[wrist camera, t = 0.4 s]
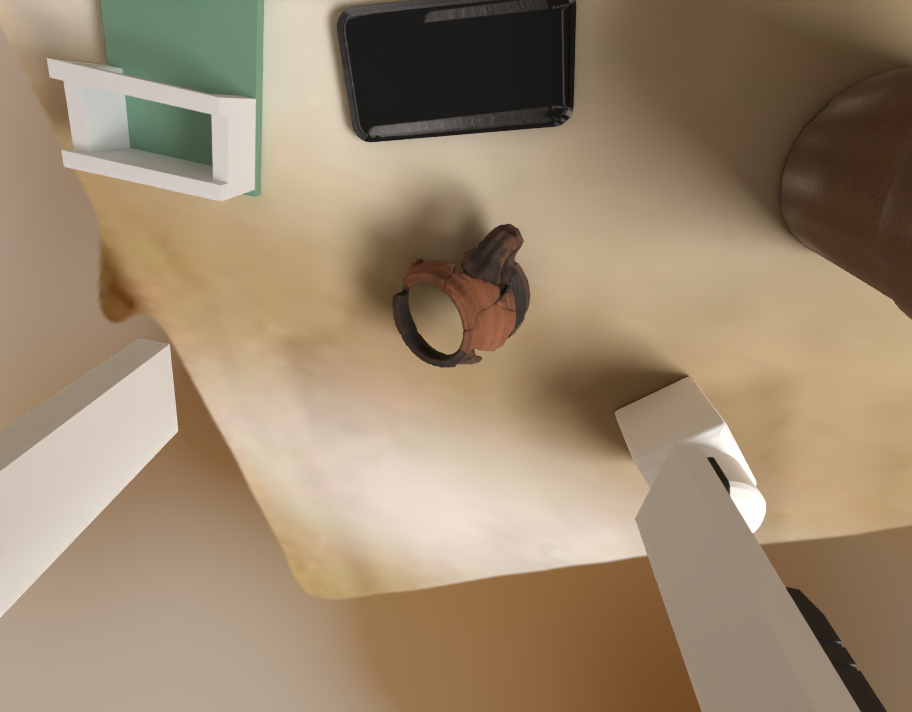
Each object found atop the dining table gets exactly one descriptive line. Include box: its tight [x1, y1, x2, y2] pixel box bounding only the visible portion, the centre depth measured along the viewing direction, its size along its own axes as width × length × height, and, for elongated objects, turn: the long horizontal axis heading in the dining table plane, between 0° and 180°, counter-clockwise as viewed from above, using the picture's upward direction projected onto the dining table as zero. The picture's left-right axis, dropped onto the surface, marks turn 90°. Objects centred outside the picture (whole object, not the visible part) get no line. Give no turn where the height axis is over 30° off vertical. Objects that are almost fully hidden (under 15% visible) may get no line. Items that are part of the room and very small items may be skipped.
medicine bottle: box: [615, 377, 766, 533], centre depth 38 cm, size 7×7×12 cm
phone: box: [337, 0, 576, 142], centre depth 32 cm, size 8×1×15 cm
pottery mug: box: [392, 224, 530, 368], centre depth 36 cm, size 12×10×8 cm
